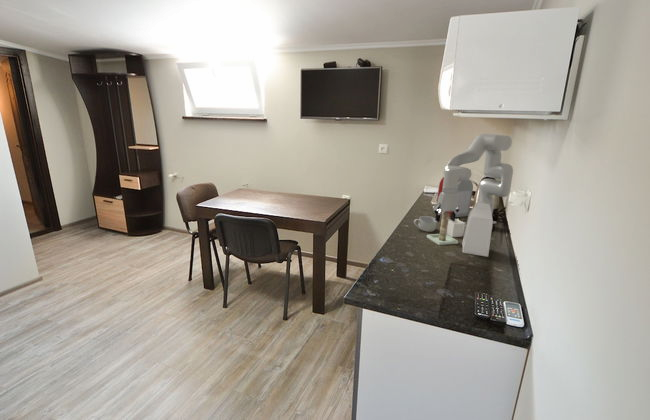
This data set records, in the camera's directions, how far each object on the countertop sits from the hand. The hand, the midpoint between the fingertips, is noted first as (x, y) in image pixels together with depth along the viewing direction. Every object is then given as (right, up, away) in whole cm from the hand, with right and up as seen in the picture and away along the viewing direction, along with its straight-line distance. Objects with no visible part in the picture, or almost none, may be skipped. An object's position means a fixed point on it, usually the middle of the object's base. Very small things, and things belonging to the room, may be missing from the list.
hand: (444, 220), depth 180 cm
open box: (+10, -9, +13) cm, 19 cm away
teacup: (-6, -7, +20) cm, 22 cm away
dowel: (0, -11, +3) cm, 11 cm away
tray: (-1, -12, +3) cm, 12 cm away
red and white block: (+27, +3, +60) cm, 66 cm away
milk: (+13, -16, -7) cm, 22 cm away
